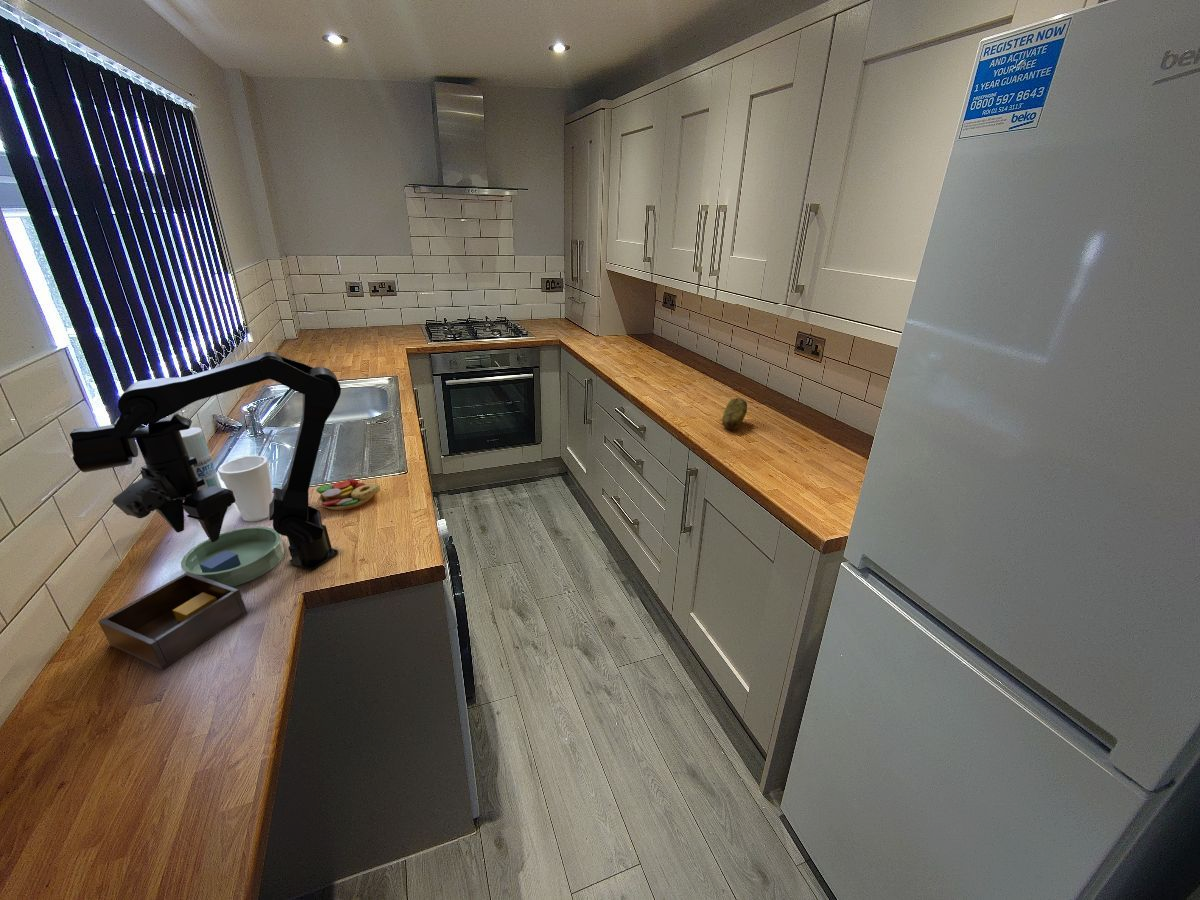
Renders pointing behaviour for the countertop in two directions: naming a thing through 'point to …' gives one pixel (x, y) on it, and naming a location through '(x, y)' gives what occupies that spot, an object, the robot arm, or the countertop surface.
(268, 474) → the foam cup
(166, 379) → the robot arm
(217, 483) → the spray can
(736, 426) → the olive green oval lump
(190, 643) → the holder
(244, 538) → the bowl
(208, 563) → the blue gray block
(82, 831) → the countertop surface
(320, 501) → the toy food set
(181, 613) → the yellow block
